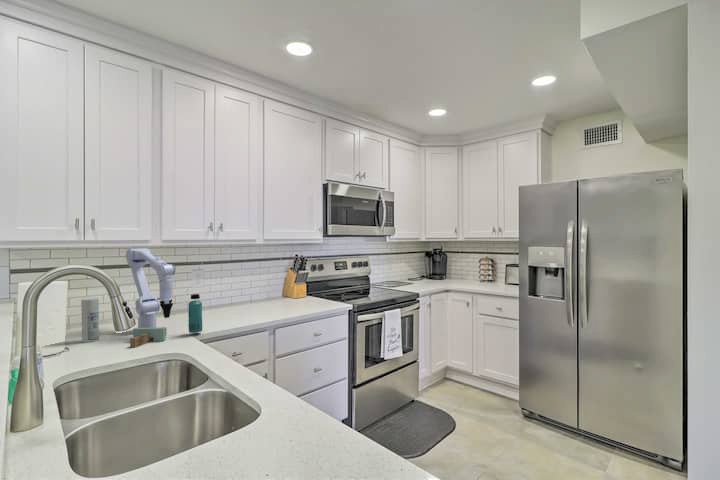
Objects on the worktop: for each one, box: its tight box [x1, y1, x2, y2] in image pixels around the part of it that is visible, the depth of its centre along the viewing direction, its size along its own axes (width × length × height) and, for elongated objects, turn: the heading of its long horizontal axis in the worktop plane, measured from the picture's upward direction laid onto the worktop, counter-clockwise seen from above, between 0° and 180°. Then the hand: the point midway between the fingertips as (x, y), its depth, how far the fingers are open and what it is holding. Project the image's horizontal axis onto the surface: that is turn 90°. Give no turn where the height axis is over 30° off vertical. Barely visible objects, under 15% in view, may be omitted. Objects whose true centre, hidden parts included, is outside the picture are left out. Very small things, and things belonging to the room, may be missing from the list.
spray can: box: [80, 297, 100, 344], centre depth 170 cm, size 6×6×20 cm
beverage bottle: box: [187, 293, 203, 334], centre depth 180 cm, size 6×7×20 cm
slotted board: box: [129, 326, 167, 349], centre depth 169 cm, size 20×2×4 cm, turn 171°
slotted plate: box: [132, 326, 167, 343], centre depth 169 cm, size 14×2×6 cm, turn 91°
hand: (166, 316), depth 179 cm, fingers open, 7 cm apart
